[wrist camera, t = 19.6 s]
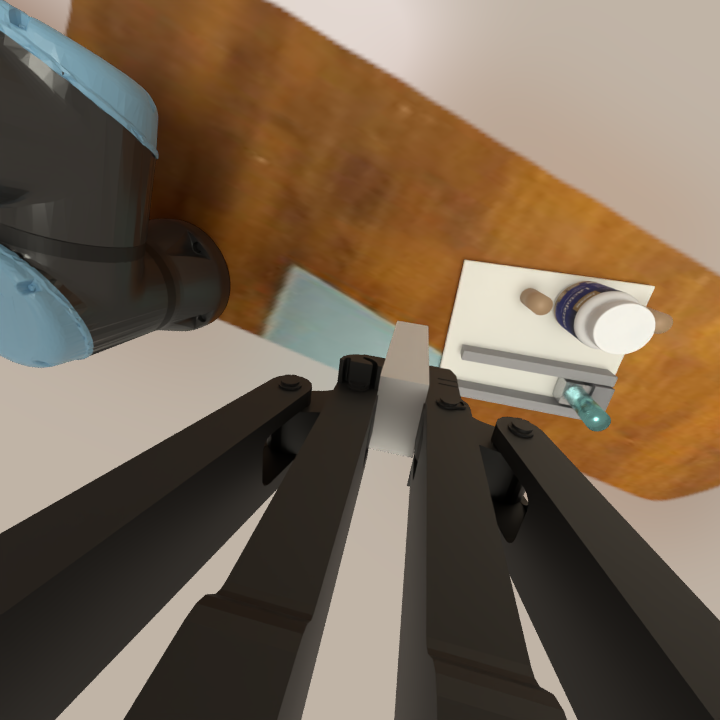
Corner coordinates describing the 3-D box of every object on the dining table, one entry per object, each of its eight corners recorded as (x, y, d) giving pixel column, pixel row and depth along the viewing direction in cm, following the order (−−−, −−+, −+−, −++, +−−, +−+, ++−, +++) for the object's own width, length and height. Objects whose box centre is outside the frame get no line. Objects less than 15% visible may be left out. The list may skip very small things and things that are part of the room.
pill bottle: (563, 275, 37) (605, 290, 28) (618, 286, 37) (678, 305, 28) (543, 324, 40) (576, 352, 31) (594, 335, 39) (643, 367, 30)
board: (436, 379, 46) (437, 400, 40) (464, 259, 40) (469, 264, 34) (593, 409, 43) (617, 436, 38) (648, 284, 37) (687, 294, 31)
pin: (552, 394, 42) (578, 430, 35) (559, 373, 41) (588, 406, 34) (575, 398, 42) (607, 436, 34) (584, 378, 41) (619, 412, 33)
